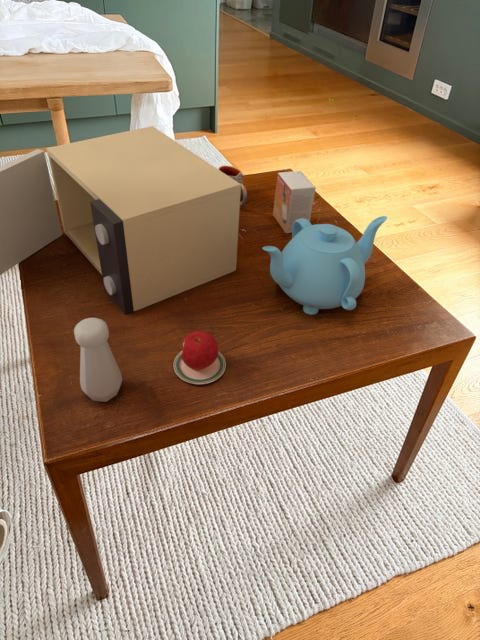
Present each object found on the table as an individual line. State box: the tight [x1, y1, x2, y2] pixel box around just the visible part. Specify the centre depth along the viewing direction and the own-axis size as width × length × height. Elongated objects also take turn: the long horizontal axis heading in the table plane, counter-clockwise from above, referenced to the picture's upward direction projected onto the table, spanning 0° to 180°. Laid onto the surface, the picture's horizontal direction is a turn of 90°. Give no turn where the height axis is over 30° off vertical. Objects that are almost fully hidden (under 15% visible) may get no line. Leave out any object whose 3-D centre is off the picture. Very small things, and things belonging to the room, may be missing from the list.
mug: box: [217, 165, 248, 208], centre depth 114 cm, size 12×7×7 cm, turn 25°
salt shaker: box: [73, 317, 123, 403], centre depth 68 cm, size 6×6×13 cm
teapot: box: [261, 215, 388, 316], centre depth 87 cm, size 16×20×14 cm
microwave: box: [46, 125, 241, 315], centre depth 93 cm, size 24×30×18 cm
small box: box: [272, 170, 317, 234], centre depth 107 cm, size 8×6×10 cm
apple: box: [173, 330, 227, 385], centre depth 74 cm, size 8×8×6 cm
